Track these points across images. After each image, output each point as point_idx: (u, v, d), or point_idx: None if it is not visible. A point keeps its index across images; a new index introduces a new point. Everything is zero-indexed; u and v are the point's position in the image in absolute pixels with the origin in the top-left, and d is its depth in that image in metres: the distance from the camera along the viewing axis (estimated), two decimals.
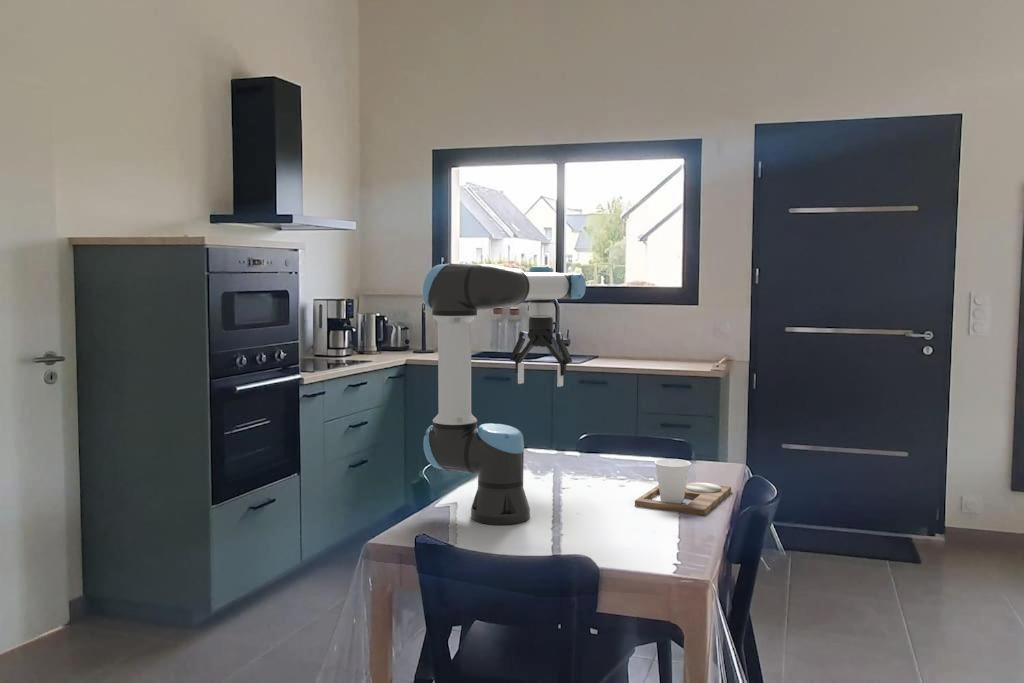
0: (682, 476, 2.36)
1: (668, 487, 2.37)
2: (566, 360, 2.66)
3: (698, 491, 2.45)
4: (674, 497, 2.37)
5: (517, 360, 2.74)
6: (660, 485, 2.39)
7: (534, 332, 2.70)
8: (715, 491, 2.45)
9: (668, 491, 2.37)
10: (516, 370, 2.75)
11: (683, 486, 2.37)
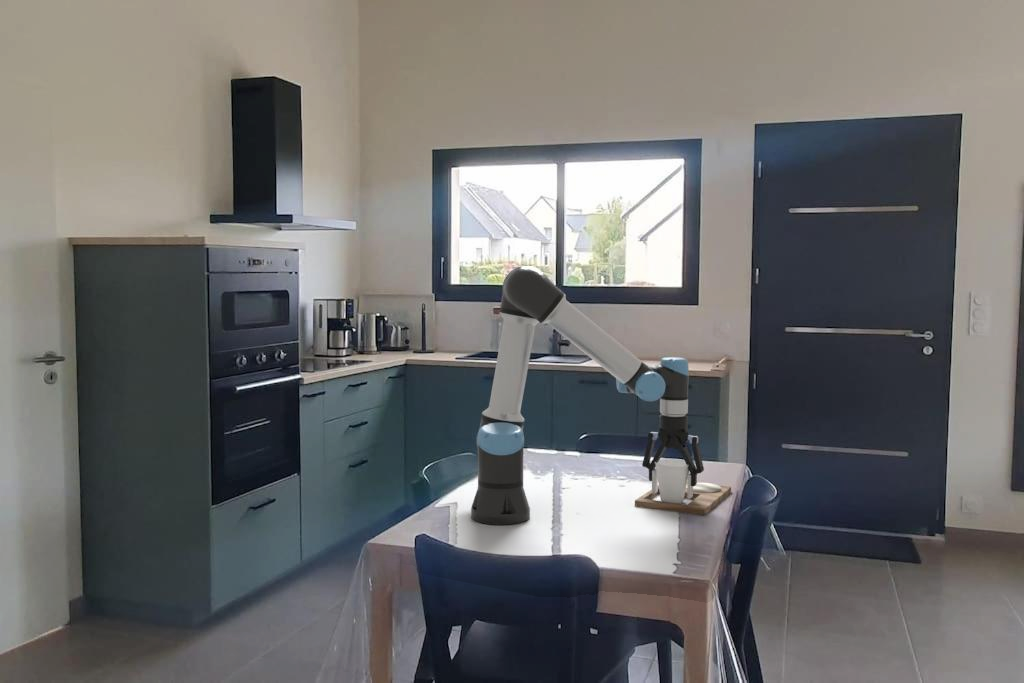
0: (682, 475, 2.36)
1: (668, 487, 2.37)
2: (698, 469, 2.35)
3: (698, 491, 2.45)
4: (675, 497, 2.37)
5: (651, 467, 2.41)
6: (660, 485, 2.39)
7: (665, 431, 2.39)
8: (715, 491, 2.45)
9: (668, 491, 2.37)
10: (649, 478, 2.42)
11: (683, 486, 2.37)
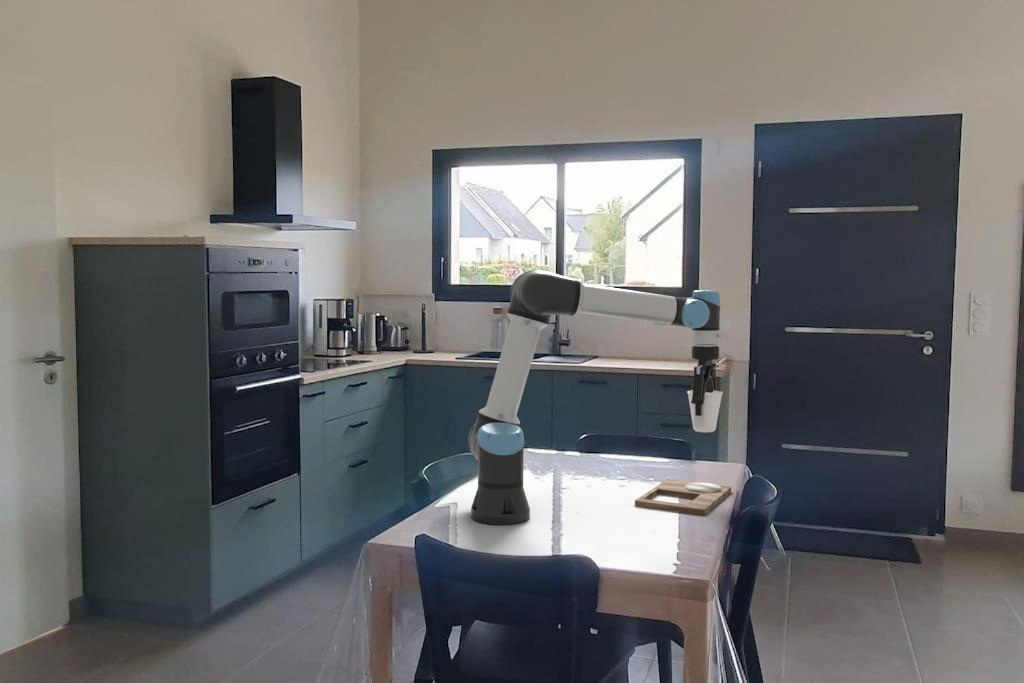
0: None
1: None
2: None
3: (698, 491, 2.45)
4: None
5: None
6: None
7: None
8: (715, 491, 2.45)
9: None
10: None
11: None
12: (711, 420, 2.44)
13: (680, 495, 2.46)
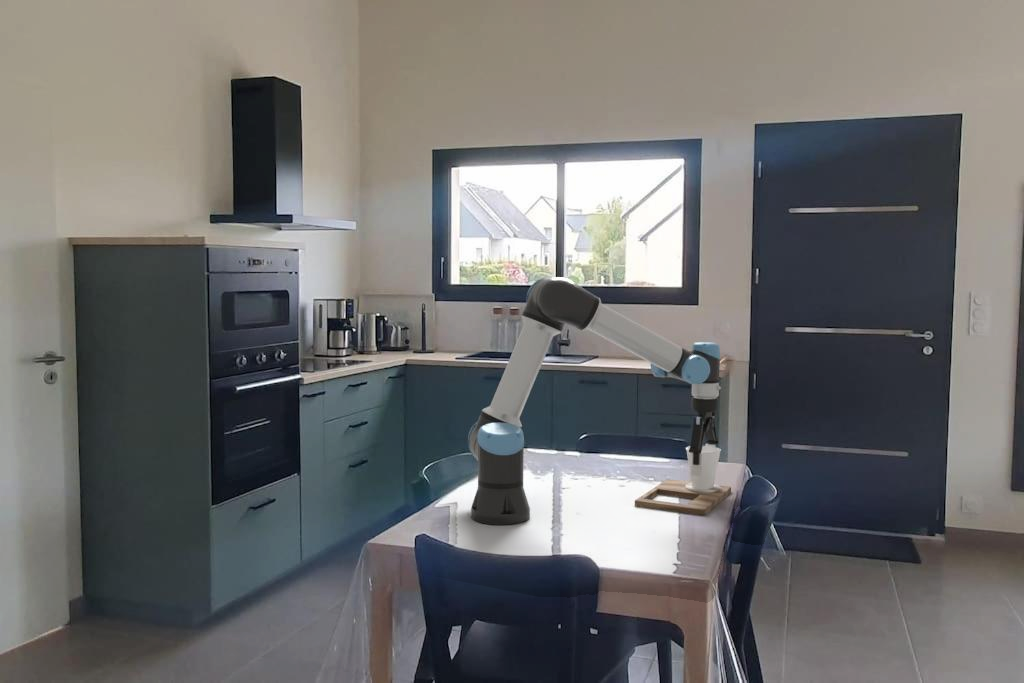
0: None
1: None
2: None
3: (698, 491, 2.45)
4: (691, 479, 2.49)
5: (707, 440, 2.56)
6: None
7: None
8: (715, 491, 2.45)
9: None
10: None
11: None
12: (710, 477, 2.46)
13: (680, 495, 2.46)
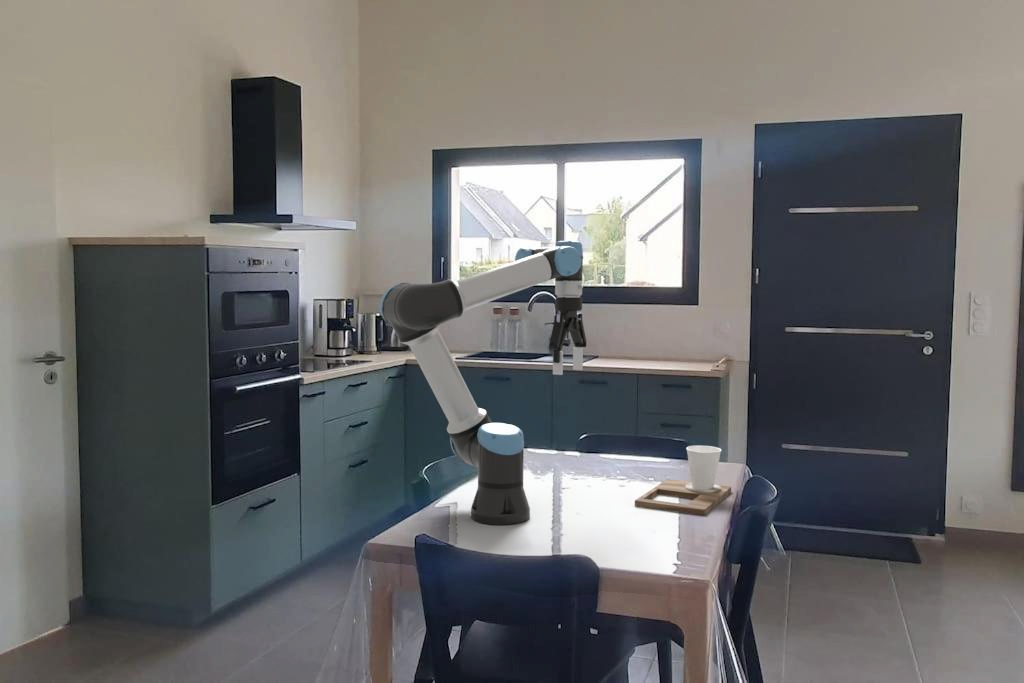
0: (692, 460, 2.46)
1: None
2: None
3: (698, 491, 2.45)
4: (691, 479, 2.49)
5: None
6: None
7: None
8: (715, 491, 2.45)
9: None
10: None
11: (694, 471, 2.46)
12: (710, 477, 2.46)
13: (680, 495, 2.46)
